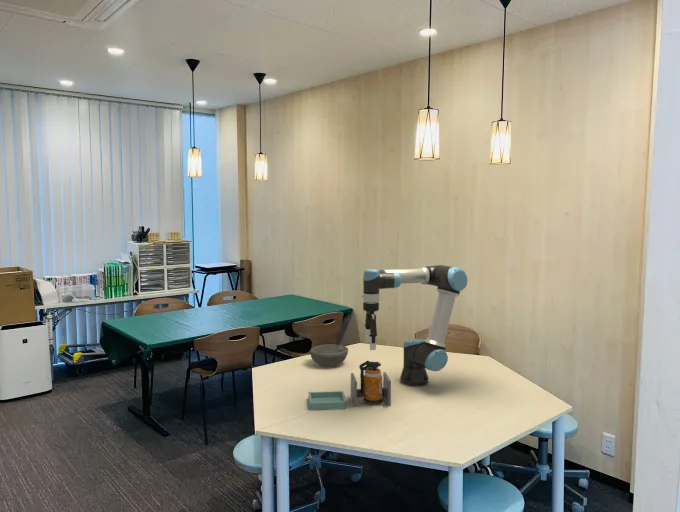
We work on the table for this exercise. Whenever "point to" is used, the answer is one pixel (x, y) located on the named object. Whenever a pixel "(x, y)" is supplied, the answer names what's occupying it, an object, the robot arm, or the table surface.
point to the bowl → (329, 354)
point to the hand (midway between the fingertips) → (370, 346)
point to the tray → (327, 400)
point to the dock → (356, 393)
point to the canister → (371, 382)
